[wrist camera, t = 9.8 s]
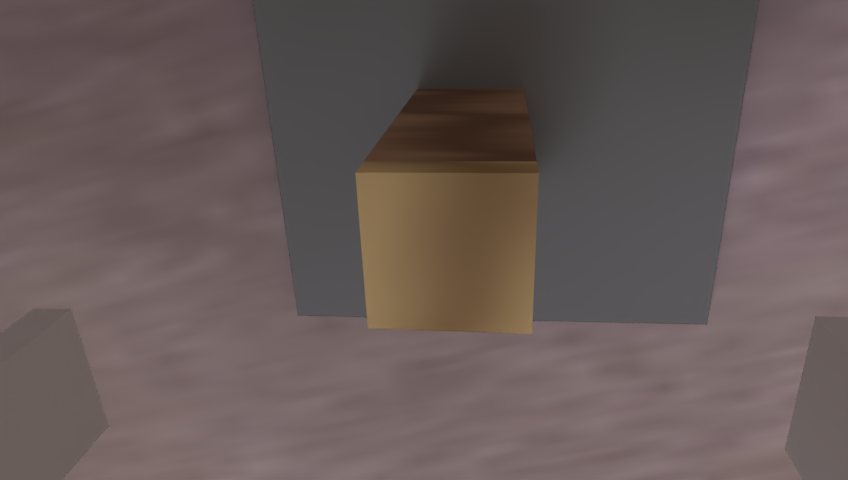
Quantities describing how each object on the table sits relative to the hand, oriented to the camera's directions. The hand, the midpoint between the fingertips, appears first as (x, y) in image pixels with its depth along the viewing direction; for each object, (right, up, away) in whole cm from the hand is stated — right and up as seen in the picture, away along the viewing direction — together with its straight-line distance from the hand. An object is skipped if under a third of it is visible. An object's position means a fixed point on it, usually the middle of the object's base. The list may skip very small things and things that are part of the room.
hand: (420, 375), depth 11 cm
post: (+2, +7, +16) cm, 17 cm away
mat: (+2, +7, +17) cm, 18 cm away
